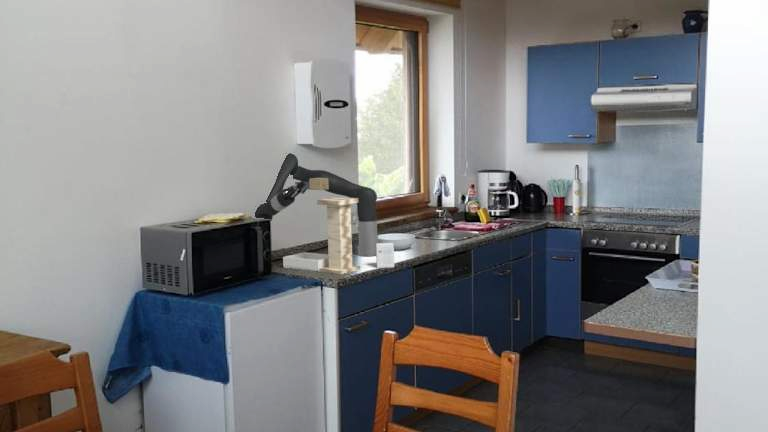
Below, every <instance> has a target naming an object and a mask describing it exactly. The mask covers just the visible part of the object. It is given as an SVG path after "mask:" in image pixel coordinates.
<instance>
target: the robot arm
mask: <svg viewBox="0 0 768 432" xmlns="http://www.w3.org/2000/svg"><path fill="white" fill-rule="evenodd" d="M288 153H289V152H288ZM298 165H299V160H298V158H297V156H296V155H295V154H294V153H289V154H288V155H287V156H286V158H285V160H284V162H283V164H282V166H281V169H280V171H279V173H278V176H277V179H276V182H275V184H274V186H273V188H272V190H271V192H270V194H269V196H268V198H267V200H266V202H267V203H264V204H261V203H260V204H259V205H260V206H259V207H258V208H257V210H256V212H255V217H256V218H264V219H270V220H271V222H272V220H273V217H274V216H276V215H277V214H279V213H280V212H282V211H284V210H285V209H287V208H288V207H289V206H291V205H292V204H293V203H294V202H295V201H296V199H295V198H296V197H299V195H304V194H305V193H306V191H307V190H308V189H300V188H302V187H303V186H304V185H305V183H304V182H309V179H311V178H328V182H329V189H326V190H324V191H325V192H328V193H331V194H334V195H338V196H342V197H343V196H344V197H346V198H358V203H356V214H357V222H358V228H357V229H358V253H359V254H358V255H359V257H376V243H378V235H379V234H378V215H377V205H376V202H377V200H378V195H377V192H376V190H374V189H373V188H371V187H367V186H364V185H359V184H357V183H354V182H352V181H349V180H347V179H346V178H344V177H341V176H340V175H337V174H334V173H332V172H330V171H327V170H323V169H308V168H305V167H303V166H301V165H299V166H298ZM289 174H290V175H293V180H296V181H298V182H300V183H299V184H297V185H295V184H294V185H291V186H289V187H287V188H284V187H285V184H286V182H287V179H288V178H289V177H288V176H289Z"/></svg>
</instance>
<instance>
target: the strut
mask: <svg viewBox="0 0 768 432" xmlns="http://www.w3.org/2000/svg"><path fill="white" fill-rule="evenodd" d="M300 182H301V181H295V182H294V186H295V185H297V184H299V183H300ZM304 183H305V185H304V186H303V187H302V188H300V189H307V190H309V191H325V190H326V189H329V182H328V178H311V179H309V182H304Z"/></svg>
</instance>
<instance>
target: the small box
mask: <svg viewBox="0 0 768 432" xmlns="http://www.w3.org/2000/svg"><path fill="white" fill-rule="evenodd" d="M375 259H376V260H375V261H376V268H377V269H382V268H385V269H386V268H388V269H389V268H395V251H394V245H393V243H376V256H375Z"/></svg>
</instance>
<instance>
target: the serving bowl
mask: <svg viewBox="0 0 768 432" xmlns="http://www.w3.org/2000/svg"><path fill="white" fill-rule="evenodd" d="M377 235H378V243H393V245H394V252H395V251H403V250H406V249H409V248H410V247H412V246H413V245H414V243H415V241H416V235H415V234H413V233H401V232H399V233H397V232H395V233H385V234H383V233H382V234H377Z"/></svg>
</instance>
